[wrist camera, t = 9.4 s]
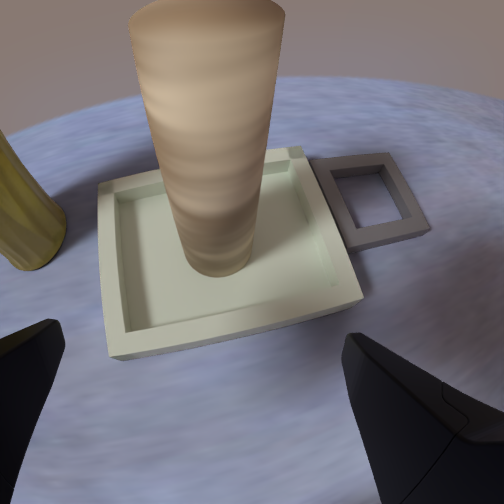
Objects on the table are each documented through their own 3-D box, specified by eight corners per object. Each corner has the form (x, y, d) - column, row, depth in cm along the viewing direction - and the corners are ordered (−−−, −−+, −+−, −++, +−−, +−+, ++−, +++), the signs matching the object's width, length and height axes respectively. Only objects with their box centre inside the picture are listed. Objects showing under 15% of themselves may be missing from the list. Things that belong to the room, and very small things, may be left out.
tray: (351, 307, 20) (363, 297, 18) (121, 361, 18) (109, 356, 16) (295, 164, 25) (300, 145, 23) (107, 200, 22) (98, 183, 20)
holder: (422, 235, 23) (430, 228, 22) (342, 255, 22) (347, 247, 21) (383, 161, 26) (388, 152, 25) (306, 169, 25) (309, 160, 24)
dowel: (265, 255, 20) (318, 24, 7) (205, 290, 19) (162, 60, 6) (228, 205, 22) (232, -16, 8) (171, 235, 21) (111, 13, 7)
